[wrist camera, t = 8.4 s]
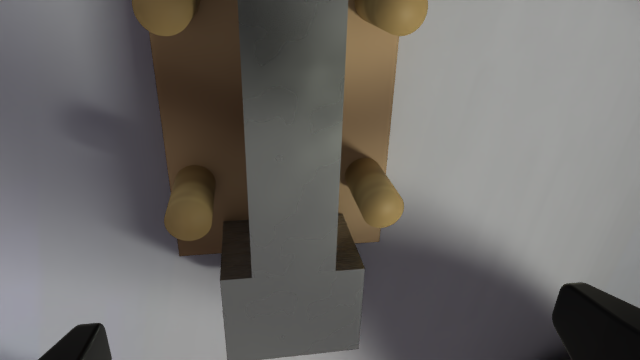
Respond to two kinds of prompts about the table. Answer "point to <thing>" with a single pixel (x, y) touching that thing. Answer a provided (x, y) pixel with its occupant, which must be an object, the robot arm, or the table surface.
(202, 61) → the peg rack
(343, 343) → the grey long bar
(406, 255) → the table surface
